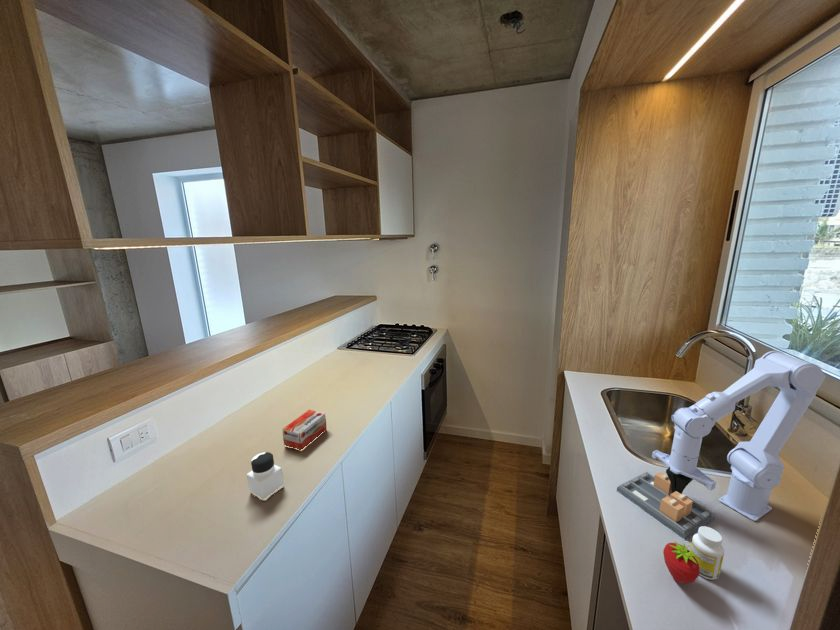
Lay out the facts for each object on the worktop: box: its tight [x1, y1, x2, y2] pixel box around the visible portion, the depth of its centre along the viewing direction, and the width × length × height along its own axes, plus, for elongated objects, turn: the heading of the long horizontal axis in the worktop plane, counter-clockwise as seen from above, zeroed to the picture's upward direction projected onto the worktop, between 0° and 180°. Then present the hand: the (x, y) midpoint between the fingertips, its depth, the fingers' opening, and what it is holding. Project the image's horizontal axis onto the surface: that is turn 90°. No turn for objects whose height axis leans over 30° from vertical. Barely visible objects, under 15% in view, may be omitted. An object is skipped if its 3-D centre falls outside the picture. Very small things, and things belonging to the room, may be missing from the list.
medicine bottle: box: [246, 451, 285, 499], centre depth 101 cm, size 7×7×12 cm
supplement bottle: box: [689, 525, 725, 581], centre depth 74 cm, size 5×5×10 cm
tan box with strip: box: [670, 491, 693, 517], centre depth 89 cm, size 3×4×5 cm, turn 25°
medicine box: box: [282, 409, 327, 450], centre depth 127 cm, size 15×8×8 cm, turn 158°
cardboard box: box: [654, 471, 672, 495], centre depth 96 cm, size 3×4×5 cm, turn 25°
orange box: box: [659, 496, 684, 523], centre depth 87 cm, size 3×4×5 cm, turn 25°
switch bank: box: [616, 471, 715, 540], centre depth 93 cm, size 13×18×2 cm
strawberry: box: [662, 540, 701, 584], centre depth 72 cm, size 6×8×10 cm
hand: (676, 493), depth 93 cm, fingers closed
